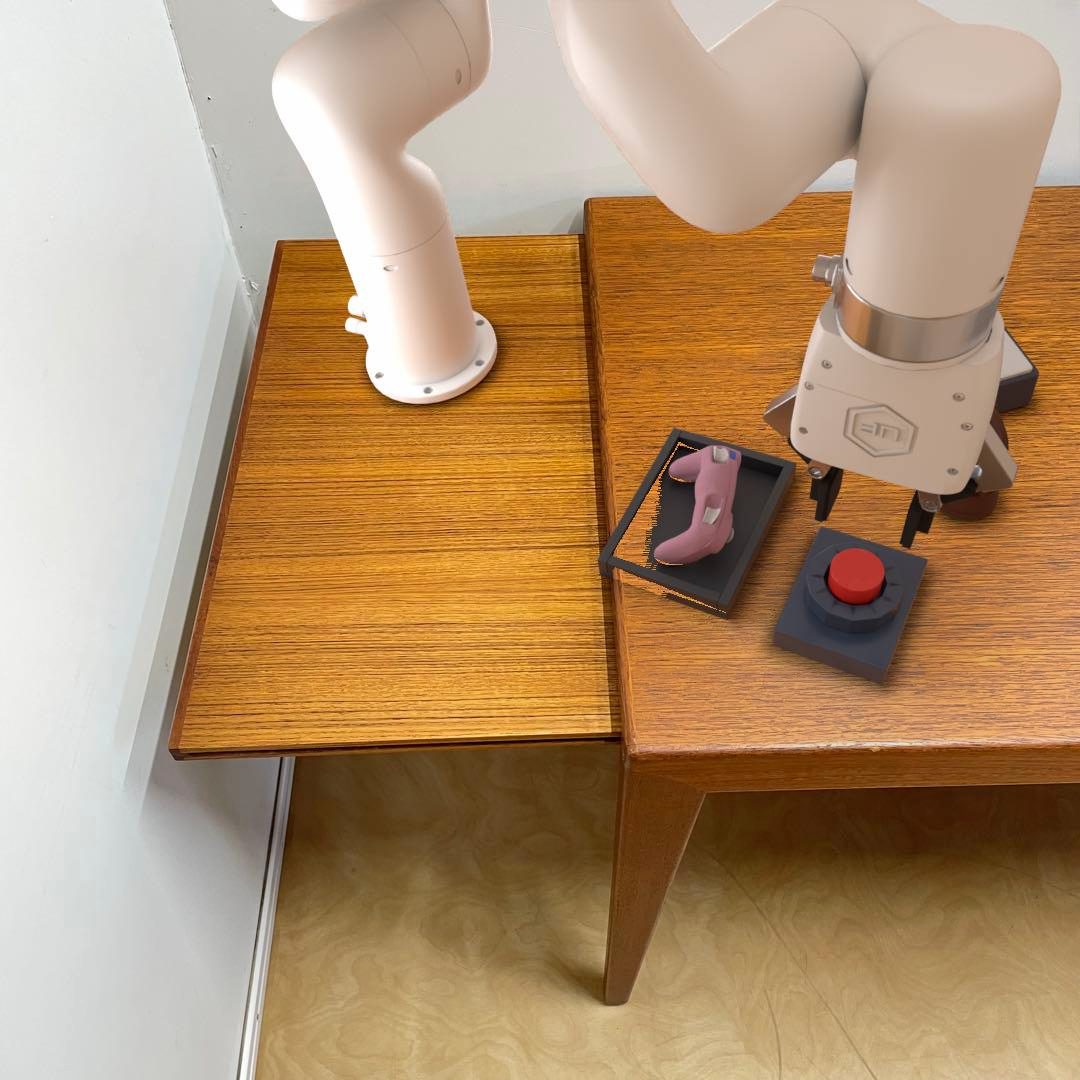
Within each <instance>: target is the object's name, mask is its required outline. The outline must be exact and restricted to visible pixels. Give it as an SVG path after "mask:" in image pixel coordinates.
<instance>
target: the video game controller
mask: <svg viewBox="0 0 1080 1080" xmlns="http://www.w3.org/2000/svg"><path fill="white" fill-rule="evenodd" d="M740 463H741V453H740V451H737V450H734V449H731V448H728V447H726V446H713V445H711V446H708V447H705V448H704V449H702V450H700V451H698V452H695V453H692V454H690V455H687V456H684V457H682V458H680V459H678V460H676V461H675V462H674V463H672V464H671V466H670V468H669V474H670V475H671V476H672V477H674V478H677V479H682V480H684V481H687V482H689V481H691V482H696V483H695V499H696V504H695V509H694V514H693V520H692V525H691V527H690V528H689V529H688V530H687V531H686V532H684V533H682V534H680V535H678V536H677V537H674V538H672V539H670V540H667V541H665V542H663V543H661V544H660V545H659V546H658V547H657V548H656V549H655V551H654V556H655V558H656V559H658V560H660V561H663V562H665V563H669V564H688V563H691V562H694V561H697V560H699V559H701V558H703V557H705V556H707V555H709V554H711V553H712V554H716V553H718V552H719V551H720V550H721V549H722V548H723V546H724V544H725V543H728V542H729V541H731V540H732V538H733V535H734V530H733V528H731V527H732V522H733V515H732V512H731V508H732V504H733V500H734V495H735V488H736V481H737V472H738V470H739V467H740ZM674 480H675V479H674ZM676 481H678V480H676ZM679 482H681V481H679ZM661 564H662V563H661Z"/></svg>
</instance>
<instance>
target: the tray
mask: <svg viewBox="0 0 1080 1080" xmlns="http://www.w3.org/2000/svg"><path fill="white" fill-rule="evenodd" d="M678 442H681V443H683V444H685V445H687V446H689V447H692V448H694V449H698V450H702V449H704V448H705V447H708V446H711V445H713V446H726V447H728V448H731V449H734V450H737V451H740V453H741V463H740V467H739V470H738V472H737V481H736V488H735V495H734V500H733V504H732V508H731V512H732V515H733V522H732V527H731V528H733V530H734V535H733V538H732V540H731V541H729V542H728V543H725V544H724V546H723V548H722V549H721V550H720V551H719V552H718V553H716V554H712V553H711V554H709V555H707V556H705V557H703V558H701V559H699V560H697V561H694V562H691V563H688V564H683V565H665V564H661V563H660V562H658V561H657V560H656V559H655V557H654V551H655V549H656V548H657V547H658V546H659V545H660V544H661V543H663V542H665V541H667V540H670V539H672V538H674V537H677V536H678V535H680V534H682V533H684V532H686V531H687V530H688V529H689V528H690V527H691V525H692V520H693V514H694V509H695V504H696V499H695V483H696V482H679V481H676V480H674V479H673V478H671V477H670V475H669V468H670V466H671V464H672V463H674V462H675V461H676V460H678V459H680V458H682V457H684V456H687V455H690V454H692V453H695V452H698V451H697V450H694V449H690V448H687V447H684V446H680V445H679V446H678V448H677V450H676V451H675V453H674V455H673V457H672V458H671V460H670V462H669V464H668V465H667V467H666V469H665V471H664V472H663V474H662V476H661V478H662V479H659V481H662V482H659V483H660V484H661V485H660V486H658V487H661V489H658V490H662V491H657V492H660V494H658V495H662V496H659V498H660V499H659V501H660V502H658V503H660V504H659V505H656V506H661V507H656V508H661V509H656V510H655V511H659V512H656V513H660V514H657V515H655V516H657V517H651V518H657V519H652V520H656V521H657V522H652V523H657V524H652V525H657V526H652V527H653V528H652V529H650V530H652V531H646V532H652V533H646V534H652V535H646V536H650V537H646V538H647V539H646V540H645V541H651V542H645V543H652V544H645V545H649V546H650V547H649V546H646V547H647V548H650V549H645V550H650V551H643V552H649V553H643V554H649V555H642V556H648V558H649V559H647V562H646V563H652V564H646V565H651V566H645V567H643V566H640V565H637V564H635V563H632V562H629V561H626V560H623V559H620V558H617V557H614V556H613V554H614V551H615V549H616V547H617V545H618V543H619V542H620V540H621V539H622V537H623V535H624V534H625V532H626V530H627V529H628V527H629V525H630V523H631V522H632V520H633V518H634V517H635V515H636V513H637V511H638V509H639V508H640V506H641V504H642V502H643V501H644V499H645V497H646V495H647V494H648V493H649V491H650V489H651V487H652V485H653V484H654V483H655V481H656V479H657V478H658V476H659V474H660V473H661V471H662V470H663V468H664V466H665V464H666V463H667V461H668V460H669V458H670V456H671V455H672V453H673V452H674V450H675V448H676V446H677V444H678ZM796 472H797V462H795V461H792V460H788V459H785V458H782V457H778V456H775V455H771V454H769V453H764V452H760V451H757V450H754V449H750V448H747V447H742V446H741V445H736V444H733V443H729V442H726V441H722V440H718V439H715V438H712V437H709V436H705V435H703V434H698V433H695V432H692V431H689V430H684V429H681V428H677V427H673V428H672V430H671V432H670V433H669V435H668V437H667V439H666V440H665V442H664V444H663V445H662V447H661V449H660V451H659V452H658V454H657V456H656V458H655V459H654V461H653V463H652V465H651V466H650V468H649V470H648V471H647V473H646V475H645V476H644V479H643V480H642V482H641V483H640V485H639V486H638V488H637V490H636V492H635V494H634V495H633V497H632V499H631V501H630V502H629V504H628V506H627V508H626V509H625V511H624V513H623V514H622V516H621V518H620V520H619V522H618V523H617V525H618V526H617V525H616V526H615V528H614V530H613V532H612V534H611V536H610V537H609V539H608V540H607V542H606V544H605V546H604V547H603V549H602V551H601V552H600V553H599V556H598V558H597V565H598V573H599V575H600V576H602V577H606V578H607V579H611V580H614V579H613V573H612V570H613V569H614V568H615V567H616V568H617V567H618V568H619V569H622V570H623V571H625V572H628V573H630V574H633V575H635V576H637V577H640V578H642V579H646V580H647V581H649V582H653V583H656V584H658V585H660V586H663V587H665V588H667V589H669V590H673V591H675V592H678V593H679V594H682V595H684V596H686V597H690V598H692V599H694V600H697V601H700V602H702V603H704V604H706V605H708V606H711V607H713V608H716V609H717V610H716V609H713V608H710V607H708V606H705V605H702V604H699V603H696V602H694V601H691V600H688V599H685V598H682V597H679V596H677V595H674V594H671V593H662V594H667V595H661V596H666V597H663V598H664V599H665V600H666V599H667V600H669V601H672V602H675V603H678V604H680V605H682V606H686V607H689V608H692V609H694V610H697V611H699V612H703V613H705V614H708V615H711V616H713V617H717V618H718V619H719V618H720V619H721V620H725V621H728V620H729V618H730V616H731V614H732V612H733V610H734V608H735V606H736V603H737V601H738V600H739V598H740V595H741V593H742V590H743V589H744V587H745V585H746V582H747V580H748V578H749V576H750V574H751V572H752V570H753V568H754V566H755V564H756V562H757V560H758V557H759V556H760V554H761V551H762V549H763V547H764V545H765V543H766V541H767V538H768V536H769V534H770V533H771V530H772V528H773V526H774V523H775V522H776V520H777V517H778V516H779V513H780V512H781V509H782V507H783V505H784V503H785V501H786V499H787V497H788V494H789V493H790V490H791V489H792V486H793V485H794V482H795V480H796ZM655 503H656V502H655ZM648 525H649V524H648ZM648 539H651V540H648ZM652 561H653V562H652ZM657 563H658V564H657ZM654 565H657V566H654ZM646 567H651V568H646ZM653 567H656V568H653ZM652 569H656V570H652ZM658 590H659V589H658ZM663 592H665V591H663ZM661 596H660V597H661ZM719 610H721V611H719ZM722 611H724V612H726V613H724V612H722Z"/></svg>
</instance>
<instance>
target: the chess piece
mask: <svg viewBox="0 0 1080 1080" xmlns="http://www.w3.org/2000/svg"><path fill="white" fill-rule="evenodd" d="M990 424H991V426H992V427H993V429H994V430H995V432H996V433H997V435H998V437H999V438H1000V440H1001V441H1002V443H1003V444H1004V446H1005V447H1006V449H1007V450H1008V451H1009V450H1010V449H1009V446H1010V445H1009V435H1008V432H1007V429H1006V426H1005V423H1004V420H1003V418H1002V415H1001V414H1000V413H999V411H998V407H997V403H996V401H995V405H994V409H993V413H992V417H991V421H990ZM976 465H978V464H977V463H976ZM999 491H1000V490H996V491H990V492H982V491H979V492H975V494H974V495H973V496H972V497H968V498H965V499H961V500H957V501H953V502H949V503H946V504H942V506H941V509H940V510H939V511H941V512H942V513H943V514H944V515H946V516H947V517H949V518H952V519H954V520H957V521H962V522H975V521H979V520H982V519H984V518H986V517H988V516H990V515H991V514H992V513H993V511H995V507H996V505H997V502H998V497H999Z"/></svg>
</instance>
